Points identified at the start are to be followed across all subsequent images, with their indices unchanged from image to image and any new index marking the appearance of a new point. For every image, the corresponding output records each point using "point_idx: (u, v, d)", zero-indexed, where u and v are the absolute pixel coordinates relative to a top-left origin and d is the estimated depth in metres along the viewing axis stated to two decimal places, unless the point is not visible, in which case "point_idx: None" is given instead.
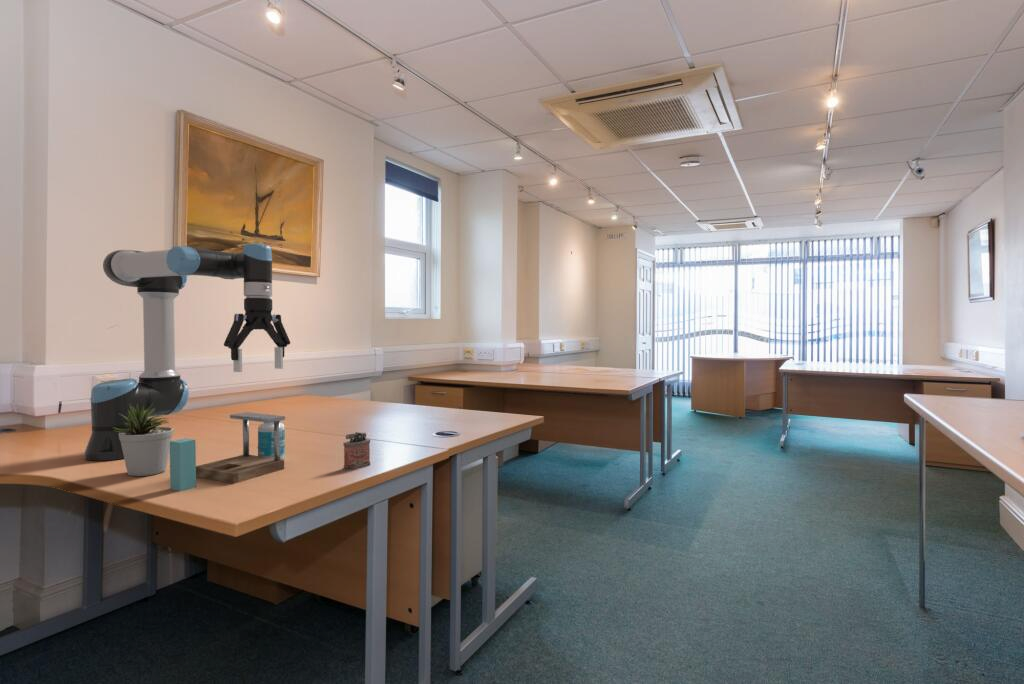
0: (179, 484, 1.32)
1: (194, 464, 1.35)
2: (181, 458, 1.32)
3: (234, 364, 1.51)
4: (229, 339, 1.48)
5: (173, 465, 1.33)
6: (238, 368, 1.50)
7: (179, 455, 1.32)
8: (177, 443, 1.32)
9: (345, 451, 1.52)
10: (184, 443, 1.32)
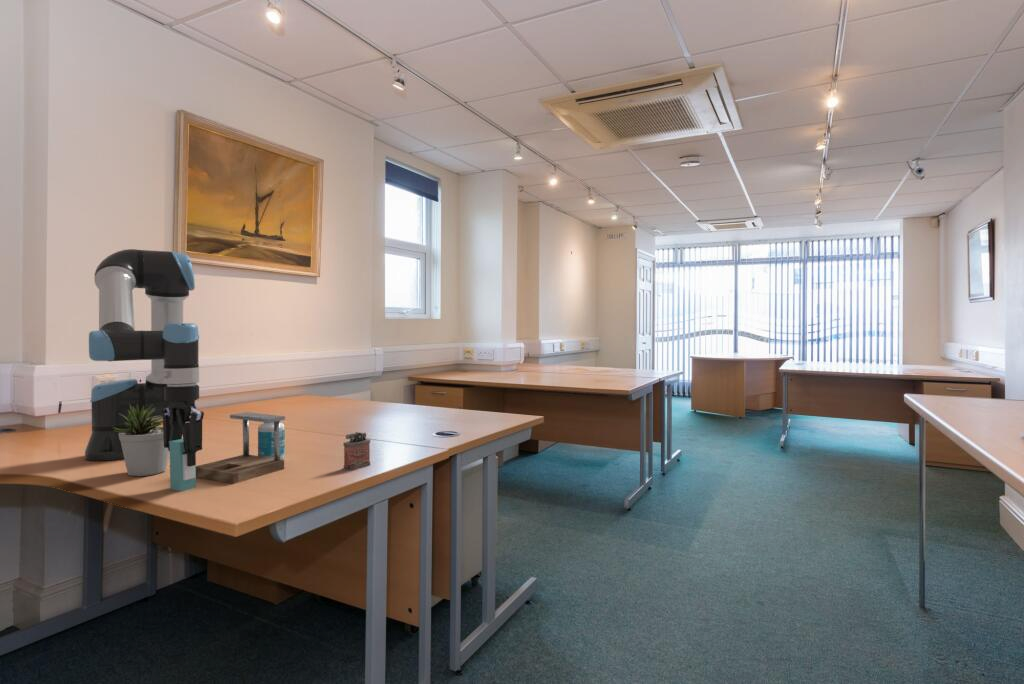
0: (179, 484, 1.32)
1: None
2: (181, 458, 1.32)
3: None
4: None
5: (173, 465, 1.33)
6: None
7: (179, 455, 1.32)
8: (177, 443, 1.32)
9: (345, 451, 1.52)
10: None
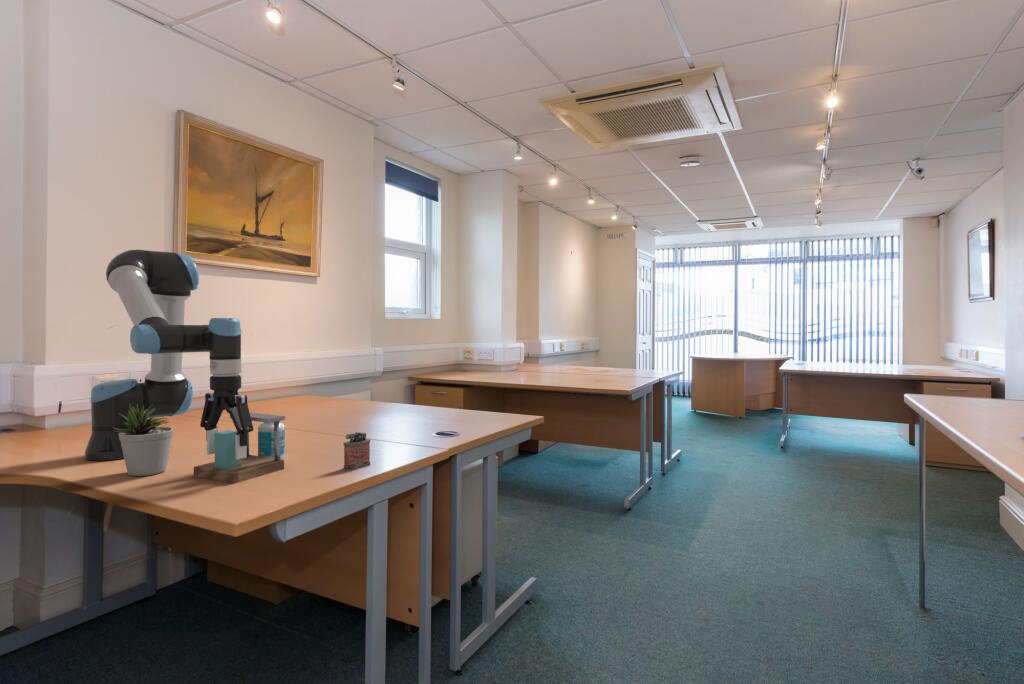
0: None
1: None
2: (226, 448, 1.43)
3: None
4: None
5: (218, 454, 1.43)
6: None
7: (224, 445, 1.42)
8: (222, 434, 1.43)
9: (345, 451, 1.52)
10: (228, 434, 1.43)
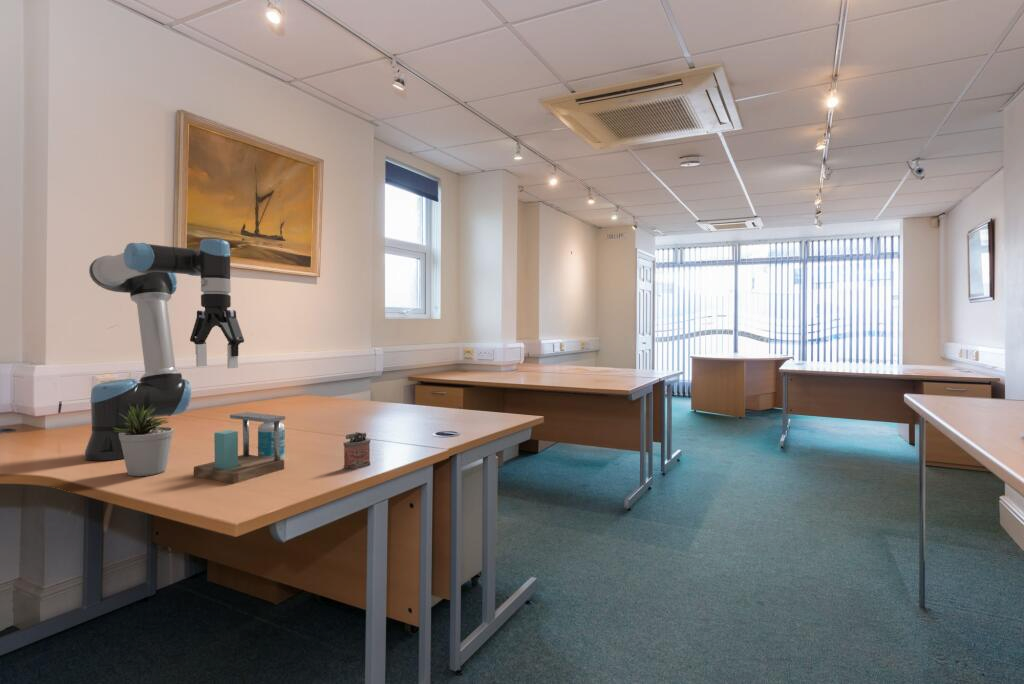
0: None
1: (236, 454, 1.46)
2: (226, 448, 1.43)
3: None
4: None
5: (218, 454, 1.43)
6: None
7: (224, 445, 1.42)
8: (222, 434, 1.43)
9: (345, 451, 1.52)
10: (228, 434, 1.43)
